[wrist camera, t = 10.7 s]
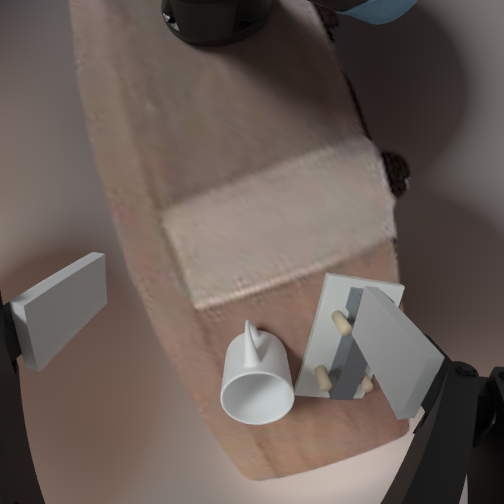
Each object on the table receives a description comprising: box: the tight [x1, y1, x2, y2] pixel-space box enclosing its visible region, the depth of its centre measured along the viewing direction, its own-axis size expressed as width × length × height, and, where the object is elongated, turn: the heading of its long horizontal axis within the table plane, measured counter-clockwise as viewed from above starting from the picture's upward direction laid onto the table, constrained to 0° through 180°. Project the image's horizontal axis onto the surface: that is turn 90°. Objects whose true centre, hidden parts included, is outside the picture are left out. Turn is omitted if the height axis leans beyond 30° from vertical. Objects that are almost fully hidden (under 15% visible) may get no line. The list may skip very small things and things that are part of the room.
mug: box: [221, 320, 295, 425], centre depth 37 cm, size 9×12×11 cm
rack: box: [293, 272, 404, 398], centre depth 39 cm, size 20×12×6 cm, turn 170°
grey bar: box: [328, 287, 394, 400], centre depth 39 cm, size 16×5×4 cm, turn 170°
